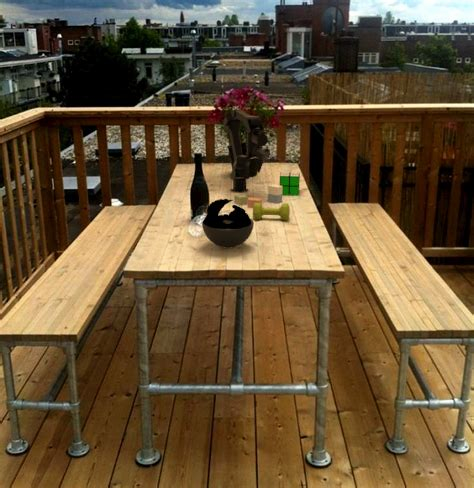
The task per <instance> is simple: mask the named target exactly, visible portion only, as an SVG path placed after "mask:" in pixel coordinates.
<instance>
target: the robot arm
mask: <svg viewBox="0 0 474 488" xmlns="http://www.w3.org/2000/svg"><path fill="white" fill-rule="evenodd" d="M222 121H223V124H222V125H223V126H224V130H225V132H227V133H228V135H229V139H230V144H231V150H232V154H233V160H234V162H233V165H232V170H231V173H230V174H229V177H230V179H231V180H232V184H233V185H232V188H231V189H230V190H231V191H233V192H237V193H242V192H243V193H244V192H246V191H247V192H248V191H249V189H248V188H247V180H249V179H250V174H251V170H250V166H249V165H250V164H251V162H250V161H251V160H255V167H256V172H257V173H258V174H260V172H261V170H262V166H263V164H264V162H265V161H267V160H268V159H269V158H270V155H271V150H270V148H262V147H264V146H266V145H267V144H268V142H269V141H268V139H269V138H268V135H266V134H265V126H264V124H263V121H262V119H261V117H260V116H257V115H251V114H248V113H247V112H245V111H243V110H242V109H233V110H231V112H229V113H228V114H227V115H225V117H224V119H223V120H222ZM241 123H243V124H244V125H243V126H244V128H246V130H245V133H246V144H245V145H244V147H245V148H246V152H245V153H244V154H243V149H242V143H241V139H240V129H241Z"/></svg>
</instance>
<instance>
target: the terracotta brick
mask: <svg viewBox="0 0 474 488" xmlns="http://www.w3.org/2000/svg"><path fill="white" fill-rule="evenodd" d="M254 203H260V204H261V205H262V206H263V198H261V197H248V198H247V208H251V209H253V205H254Z"/></svg>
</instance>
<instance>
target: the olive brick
mask: <svg viewBox="0 0 474 488" xmlns="http://www.w3.org/2000/svg"><path fill="white" fill-rule="evenodd" d="M233 198H234V200H233V201H234V203H235V205H236V204H237V206H238V205H239V206H245V205H247V206H248V196H247V195H245V194H244V193H237V194H234V196H233Z"/></svg>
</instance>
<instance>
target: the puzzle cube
mask: <svg viewBox="0 0 474 488" xmlns="http://www.w3.org/2000/svg"><path fill="white" fill-rule="evenodd" d="M300 174H301V173H300V172H299V171H296V172H295V171H281V172H280V173H279V185H280V186H282V196H295V195H296V196H297V195H298V196H300V180H301V179H300V177H301V176H300Z"/></svg>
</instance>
